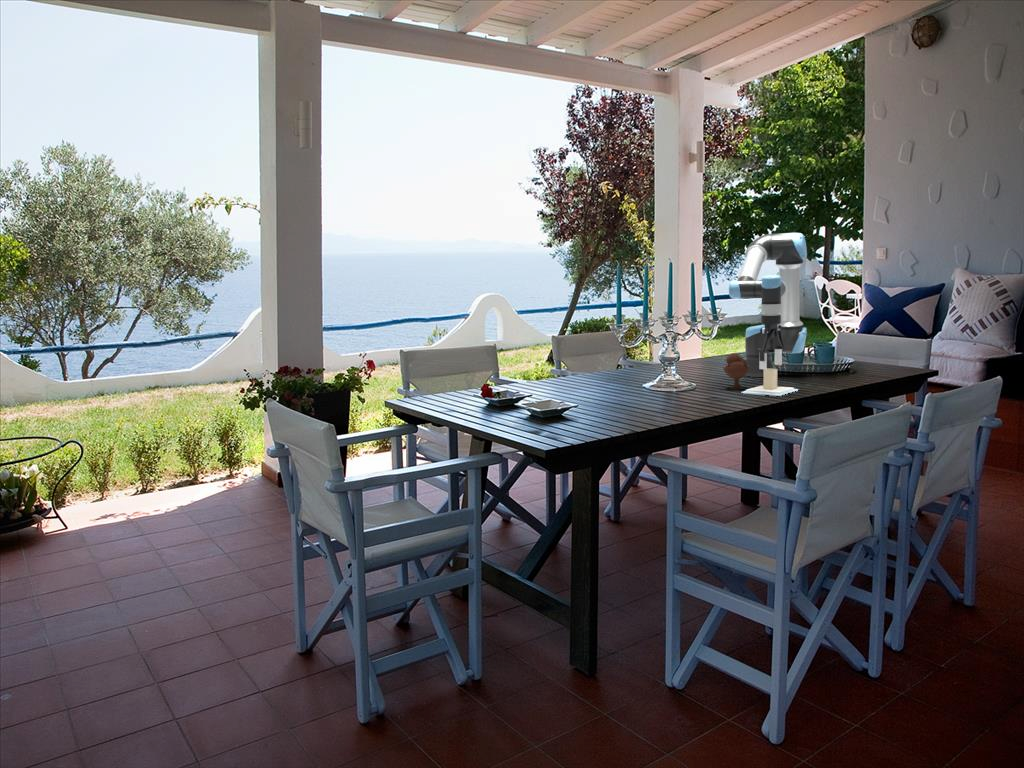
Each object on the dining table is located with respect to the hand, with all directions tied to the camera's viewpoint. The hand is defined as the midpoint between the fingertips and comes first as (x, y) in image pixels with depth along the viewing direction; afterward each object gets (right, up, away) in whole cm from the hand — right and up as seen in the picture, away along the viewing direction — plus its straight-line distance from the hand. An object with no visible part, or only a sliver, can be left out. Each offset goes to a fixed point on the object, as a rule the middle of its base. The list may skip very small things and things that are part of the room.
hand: (770, 367), depth 342 cm
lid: (0, -10, +1) cm, 10 cm away
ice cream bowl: (-10, -9, +13) cm, 19 cm away
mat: (0, -10, +1) cm, 10 cm away
